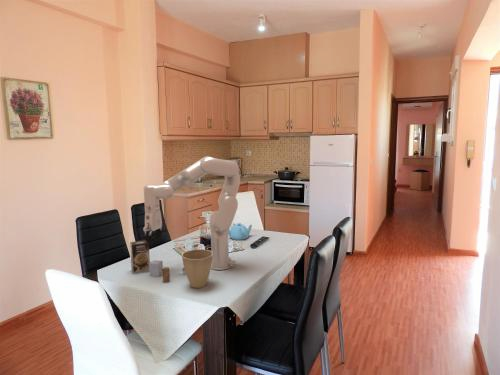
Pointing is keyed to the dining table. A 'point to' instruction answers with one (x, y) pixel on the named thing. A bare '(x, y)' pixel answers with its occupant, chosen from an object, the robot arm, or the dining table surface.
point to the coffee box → (140, 256)
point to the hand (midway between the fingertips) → (153, 239)
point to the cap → (155, 268)
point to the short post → (184, 271)
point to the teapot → (239, 232)
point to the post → (165, 274)
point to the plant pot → (197, 266)
